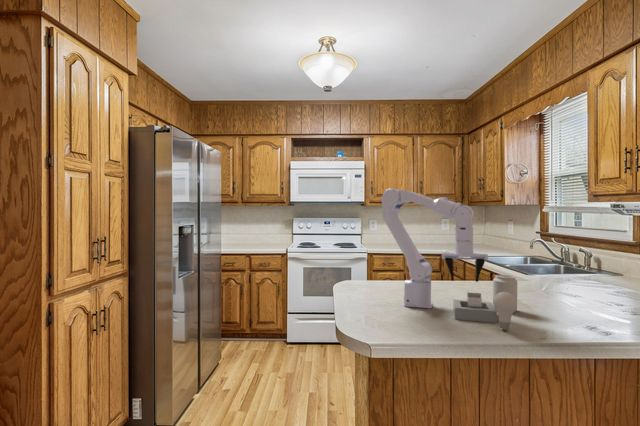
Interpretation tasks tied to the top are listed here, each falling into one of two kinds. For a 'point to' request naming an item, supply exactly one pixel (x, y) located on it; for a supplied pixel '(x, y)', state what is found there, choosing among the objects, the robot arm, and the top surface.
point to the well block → (474, 312)
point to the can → (505, 285)
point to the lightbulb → (504, 308)
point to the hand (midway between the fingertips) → (464, 280)
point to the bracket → (474, 300)
